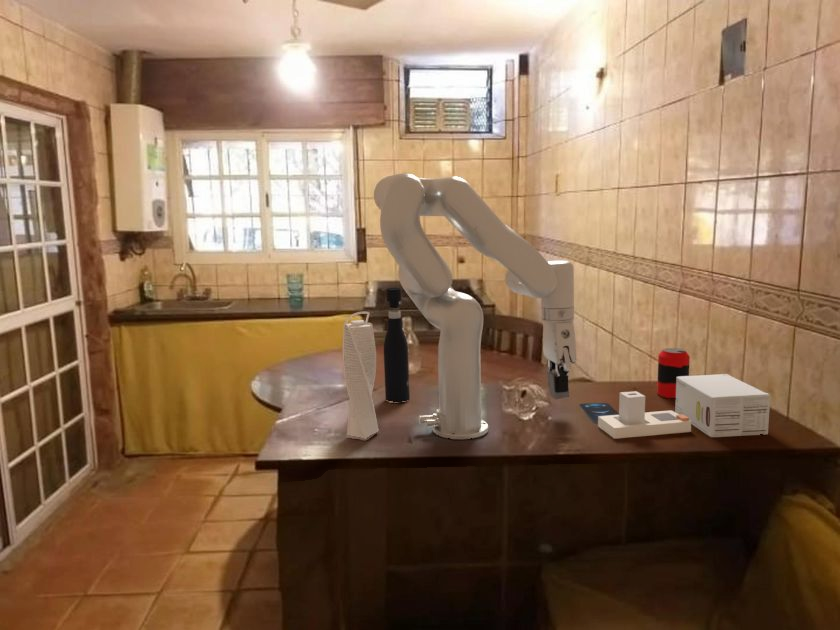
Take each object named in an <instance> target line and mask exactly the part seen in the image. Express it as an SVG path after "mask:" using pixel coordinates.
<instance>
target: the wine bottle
mask: <svg viewBox="0 0 840 630" xmlns="http://www.w3.org/2000/svg"><path fill="white" fill-rule="evenodd" d="M385 291H386V292H385V293H386V294H385V295H386V302H387V303H388V302H389V306H388V308H389V310H388V318H387V330H386V333H385V335H384V342H383V363H384V366H383V368H384V370H383V371H384V393H385V394H384V395H385V401H386V400H388V401H393V402H402V401H407V400H409V399H410V374H409V373H410V372H409V371H410V370H409V364H410V363H409V346H408V340H407V338H406V337H407V336H406V333H405V332H404V329H403V318H402V315H401V310H399V309H400V302H401V301H402V288H401V287H388V288H386V289H385ZM410 400H411V399H410ZM410 400H409V401H410Z"/></svg>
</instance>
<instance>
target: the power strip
mask: <svg viewBox="0 0 840 630" xmlns="http://www.w3.org/2000/svg"><path fill="white" fill-rule="evenodd" d="M597 427H598V428H599V429H600V430H602V431H603V432H605V433H606V434H607V435H608V436H610V437H611V438H612V439H614V440H615V439H626V438H637V437H647V436H649V437H650V436H658V435H659V436H660V435H669V434H681V433H690V432H691V433H692V424H691V421H690V420H689V418H688V417H686V416H685V415H679V414H677V413H675V411H674V410H661V411H660V410H659V411H649V412H646V411H645V423H644V424H636V425H624V424H622V423H621V422H620V421H619V415H610V416H598V423H597Z"/></svg>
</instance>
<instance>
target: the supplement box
mask: <svg viewBox="0 0 840 630" xmlns="http://www.w3.org/2000/svg"><path fill="white" fill-rule="evenodd" d="M770 406H771V393H767V392H765V391H763V390H761V389H759V388H757V387H755V386H752V385H750V384H749V383H746V382H745V381H743V380H740V379H738V378H736V377H734V376H732V375H730V374H728V373H721V374H718V373H716V374H704V375H703V374H701V375H700V374H699V375H689V376H679V377H676V399H675V408H674V409H675V411H674V412H675V413H677V414H679V415H685V416H686V417H688V418H689V420H690V421H691V426H694V427H695V428H697V429H698V430H700V431H701V432H702V433H704V434H705V435H706V436H709V438H723V437H725V438H726V437H738V436H739V437H742V436H761V435H760V434H763V435H768V433H769V423H770V422H769V421H770Z"/></svg>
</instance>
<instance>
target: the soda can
mask: <svg viewBox="0 0 840 630" xmlns="http://www.w3.org/2000/svg"><path fill="white" fill-rule="evenodd" d="M657 356H658V357H657V358H658V359H657V361H658V362H657V382H656V383H657V385H656V386H657V388H656V393H657V395H658V396H659V397H661V398H664V397H665V398H664V399H670V398H676V377H679V376H690V361H691V359H690V358H691V357H690V355H689V353H688V351H686V349H683V348H676V347H668V348H667V347H666V348H663V349H662V350H661V351H660V352H659V354H658V355H657Z"/></svg>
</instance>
